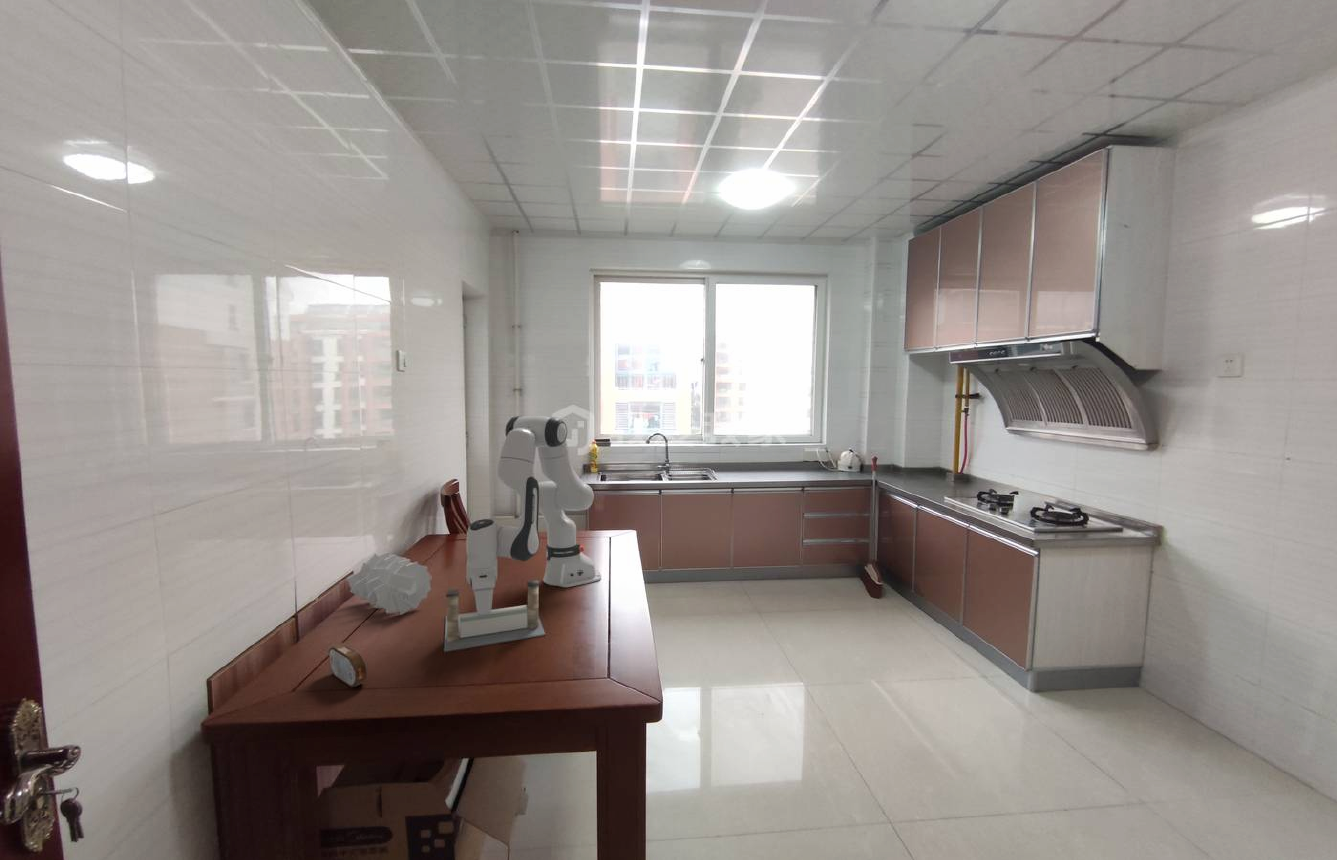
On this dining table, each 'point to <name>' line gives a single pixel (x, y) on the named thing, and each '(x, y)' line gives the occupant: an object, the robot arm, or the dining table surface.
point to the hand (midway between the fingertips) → (482, 618)
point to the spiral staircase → (391, 583)
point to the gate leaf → (493, 621)
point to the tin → (347, 665)
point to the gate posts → (453, 610)
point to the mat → (492, 636)
